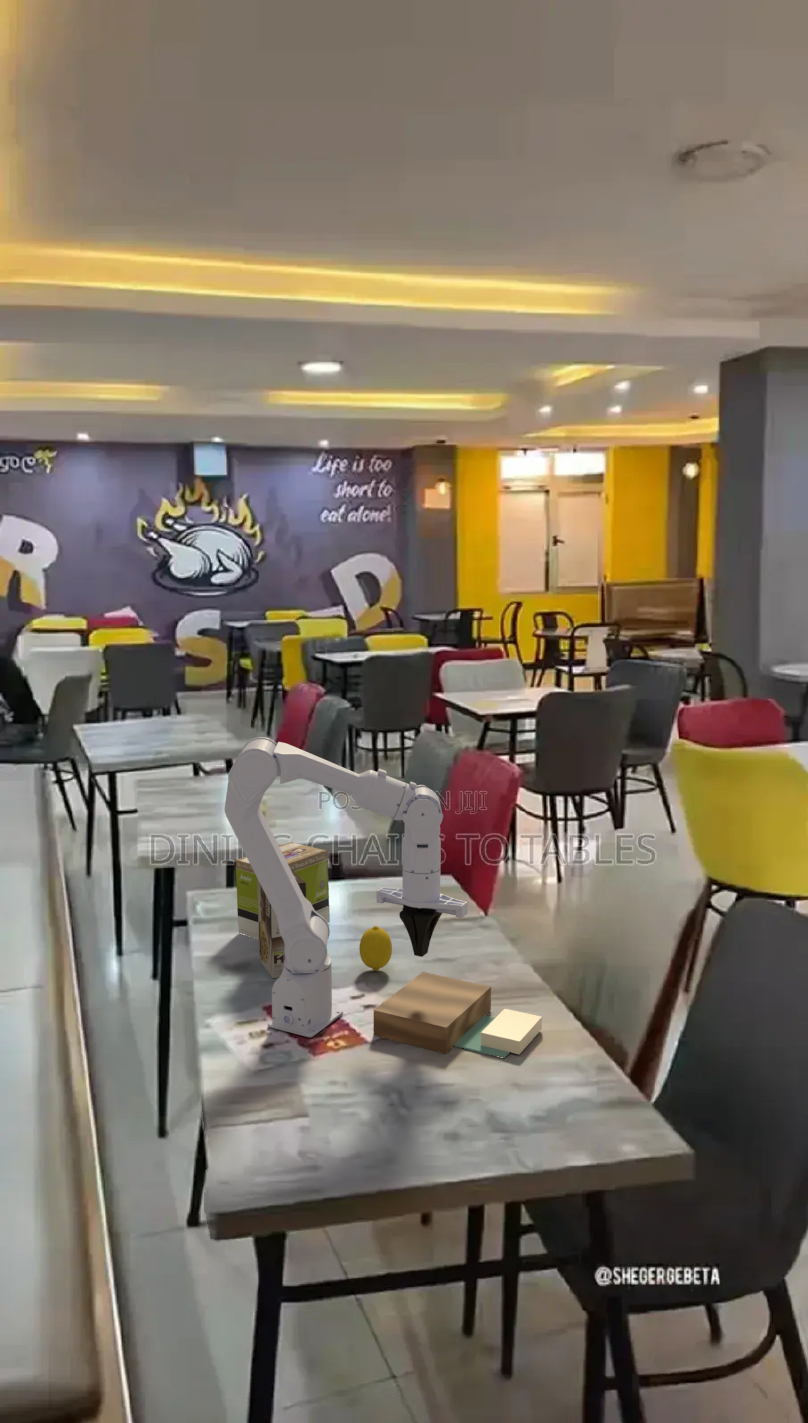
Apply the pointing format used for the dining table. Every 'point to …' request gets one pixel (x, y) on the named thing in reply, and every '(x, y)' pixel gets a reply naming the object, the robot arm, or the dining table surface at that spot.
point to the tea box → (301, 860)
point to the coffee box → (272, 932)
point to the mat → (479, 1039)
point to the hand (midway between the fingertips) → (420, 953)
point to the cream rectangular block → (511, 1031)
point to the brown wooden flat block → (432, 1011)
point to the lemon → (375, 948)
